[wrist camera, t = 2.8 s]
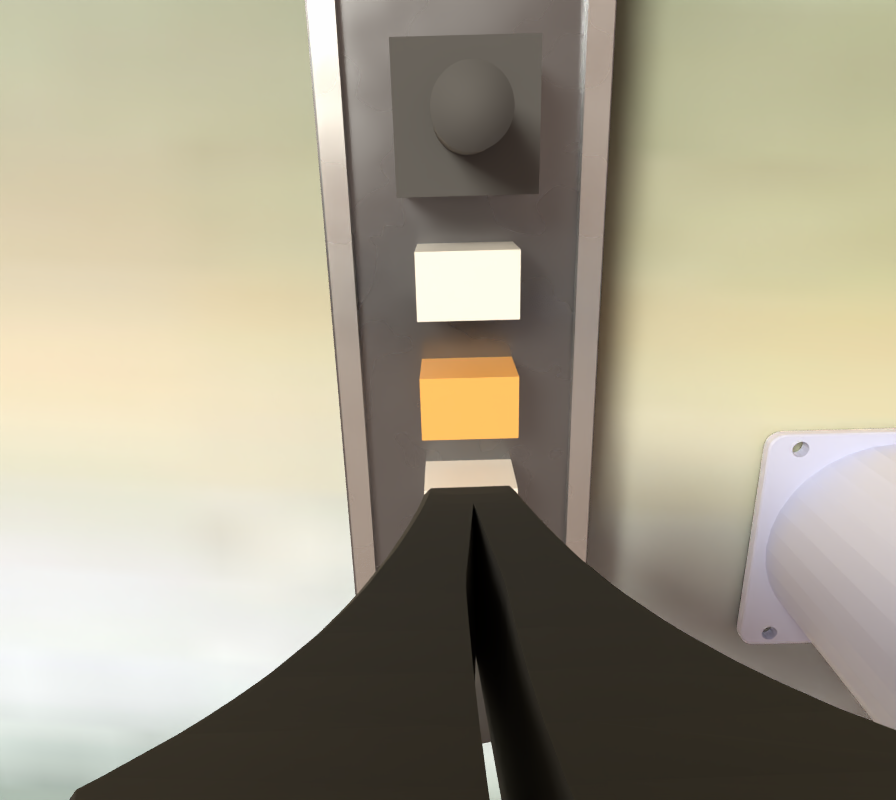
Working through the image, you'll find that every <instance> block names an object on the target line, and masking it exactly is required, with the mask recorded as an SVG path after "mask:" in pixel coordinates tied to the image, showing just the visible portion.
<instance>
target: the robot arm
mask: <svg viewBox="0 0 896 800" xmlns="http://www.w3.org/2000/svg"><path fill="white" fill-rule="evenodd" d="M799 442H803V445H802V447H801V449H799V450H798V451H796V452H792V449H793V447H794V445H796V444H797V443H799ZM768 627H771V628H770V629H769V630H768V631H765V632H763V630H764V629H766V628H768ZM737 632H738V634H739V635H740V637H741V639H742V640H743V641H744V642H746V643H747V644H784V643H812V644H813V645H814V646H815V647H816V649H817V650H818V651H819V652H820V654H821V655H822V656H823V658H824V659H825V660H826V661H827V663H828V664H829V665H830V666H831V668H832V669H833V670H834V672H835V673H836V674H837V675H838V677H839V678H840V679H841V680H842V682H843V683H844V684H845V686H846V687H847V688H848V689H849V691H850V692H851V693H852V694H853V696H854V697H855V698H856V700H857V701H858V702H859V703H860V705H861V706H862V707H863V709H864V710H865V711H866V712H867V714H868V715H869V716H870V717H871V719H872V720H873V721H874V722H873V721H871V720H868V719H865V718H862V717H860V716H857V715H854V714H852V713H849V712H846V711H844V710H841V709H839V708H837V707H834V706H832V705H829V704H827V703H825V702H823V701H820V700H818V699H816V698H814V697H811V696H809V695H807V694H805V693H802V692H800V691H798V690H796V689H794V688H791V687H789V686H787V685H785V684H782V683H780V682H778V681H776V680H773V679H771V678H769V677H767V676H765V675H763V674H761V673H759V672H757V671H755V670H753V669H751V668H749V667H747V666H745V665H743V664H741V663H739V662H737V661H735V660H733V659H731V658H729V657H727V656H725V655H724V654H722V653H720V652H718V651H716V650H715V649H713V648H711V647H709V646H707V645H706V644H704V643H702V642H700V641H698V640H696V639H695V638H693V637H691V636H689V635H687V634H686V633H684V632H682V631H681V630H679V629H677V628H676V627H674V626H673V625H671V624H669V623H668V622H666V621H664V620H663V619H661V618H660V617H658V616H657V615H655V614H654V613H652V612H651V611H649V610H648V609H646V608H645V607H643V606H642V605H640V604H639V603H638V602H636V601H635V600H633V599H632V598H630V597H629V596H627V595H626V594H624V593H623V592H622V591H620V590H619V589H618V588H616V587H615V586H614V585H612V584H611V583H610V582H608V581H607V580H606V579H605V578H603V577H602V576H601V575H600V574H599V573H597V572H596V571H595V570H594V569H593V568H591V567H590V566H589V565H588V564H586V563H585V562H584V561H583V560H582V559H581V558H579V557H578V556H577V555H576V554H575V553H574V552H573V551H572V550H571V549H570V548H569V547H568V546H567V545H566V544H565V543H564V542H563V541H562V540H560V539H559V538H558V537H557V536H556V535H555V534H554V533H553V532H552V531H551V530H550V529H549V528H548V527H547V526H546V525H545V523H544V522H543V521H542V520H541V519H540V518H539V517H538V516H537V515H536V514H535V513H534V512H533V511H532V509H531V508H530V507H529V506H528V505H527V504H526V503H525V502H524V500H523V499H522V498H521V497H520V496H519V495H518V494H517V492H516V491H515V490H513V489H512V488H511V487H510V486H481V487H451V488H431V489H429V490H428V491H427V492H426V493H425V494H424V496H423V499H422V501H421V503H420V505H419V507H418V509H417V511H416V513H415V515H414V517H413V518H412V520H411V522H410V523H409V525H408V527H407V529H406V530H405V532H404V533H403V535H402V536H401V538H400V539H399V540H398V542H397V543H396V545H395V546H394V548H393V549H392V551H391V552H390V554H389V555H388V557H387V558H386V559H385V561H384V562H383V563H382V564H381V566H380V567H379V568H378V569H377V571H376V572H375V573H374V574H373V576H372V577H371V578H370V579H369V581H368V582H367V583H366V584H365V585H364V587H363V588H362V589H361V590H360V591H359V593H358V594H357V595H356V596H355V597H354V598H353V599H352V600H351V601H350V603H349V604H348V605H347V606H346V607H345V608H344V609H343V610H342V611H341V612H340V613H339V614H338V615H337V616H336V617H335V618H334V619H333V620H332V621H331V622H330V623H329V624H328V625H327V626H326V627H325V628H324V629H323V630H322V631H321V632H320V633H319V634H318V635H316V636H315V637H314V638H313V639H312V640H311V641H309V642H308V643H307V644H306V645H305V646H303V647H302V648H301V649H300V650H298V651H297V652H296V653H295V654H294V655H292V656H291V657H290V658H289V659H287V660H286V661H285V662H284V663H282V664H281V665H280V666H279V667H278V668H276V669H275V670H274V671H273V672H271V673H270V674H269V675H267V676H266V677H265V678H263V679H262V680H260V681H259V682H258V683H256V684H255V685H253V686H252V687H250V688H249V689H248V690H246V691H245V692H243V693H242V694H240V695H239V696H238V697H236V698H235V699H233V700H232V701H230V702H229V703H227V704H225V705H224V706H222V707H221V708H219V709H218V710H216V711H215V712H213V713H212V714H210V715H209V716H207V717H205V718H204V719H202V720H201V721H199V722H198V723H196V724H194V725H193V726H191V727H189V728H188V729H186V730H184V731H183V732H181V733H179V734H178V735H176V736H174V737H172V738H171V739H169V740H167V741H165V742H163V743H162V744H160V745H158V746H156V747H154V748H153V749H151V750H149V751H147V752H145V753H144V754H142V755H140V756H138V757H136V758H135V759H133V760H131V761H129V762H127V763H126V764H124V765H122V766H120V767H118V768H116V769H115V770H113V771H111V772H109V773H107V774H106V775H104V776H102V777H100V778H98V779H96V780H94V781H92V782H90V783H88V784H87V785H85V786H83V787H81V788H79V789H77V790H76V791H75V792H74V794H73V795H72V797H71V798H70V800H490V799H489V792H488V785H487V778H486V770H485V762H484V755H483V747H482V739H481V732H480V724H479V715H478V706H477V697H476V688H475V667H476V660H477V666H478V671H479V677H480V683H481V688H482V694H483V699H484V705H485V711H486V716H487V722H488V727H489V733H490V738H491V744H492V749H493V755H494V760H495V766H496V771H497V777H498V782H499V788H500V793H501V800H896V428H877V429H838V430H800V431H779V432H775V433H773V434H772V435H770V436H769V437H768V438H767V439H766V441H765V444H764V448H763V454H762V461H761V468H760V474H759V481H758V488H757V494H756V501H755V508H754V515H753V521H752V528H751V535H750V541H749V548H748V555H747V562H746V568H745V575H744V582H743V588H742V595H741V602H740V609H739V615H738V622H737Z"/></svg>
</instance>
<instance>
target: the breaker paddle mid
mask: <svg viewBox="0 0 896 800" xmlns="http://www.w3.org/2000/svg"><path fill="white" fill-rule="evenodd" d="M420 402H421V427H422V440H461V439H500V438H518V436H519V375H518V372H517V369H516V367H515V364H514V361H513V359H512V357H475V358H436V359H422V362H421V371H420Z"/></svg>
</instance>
